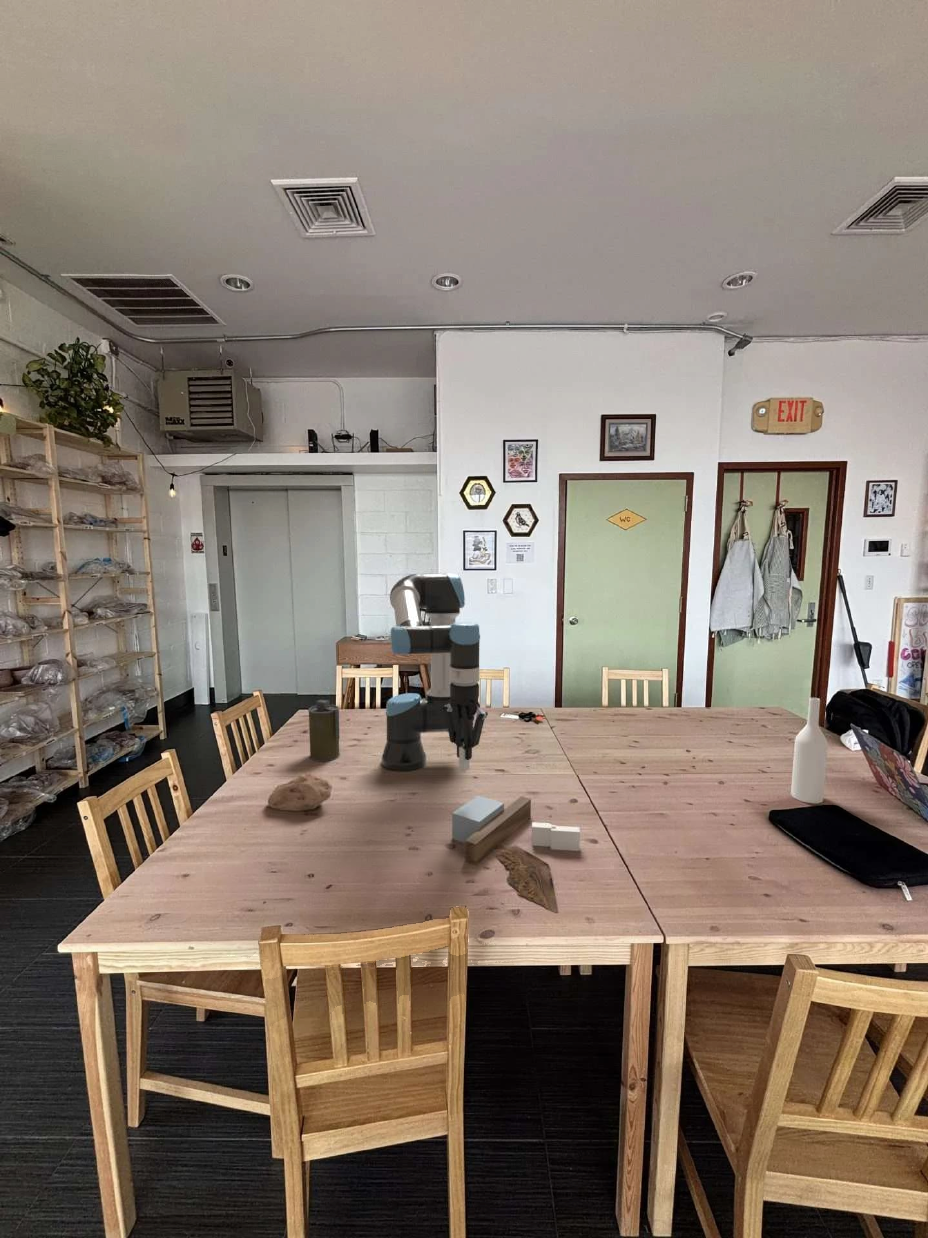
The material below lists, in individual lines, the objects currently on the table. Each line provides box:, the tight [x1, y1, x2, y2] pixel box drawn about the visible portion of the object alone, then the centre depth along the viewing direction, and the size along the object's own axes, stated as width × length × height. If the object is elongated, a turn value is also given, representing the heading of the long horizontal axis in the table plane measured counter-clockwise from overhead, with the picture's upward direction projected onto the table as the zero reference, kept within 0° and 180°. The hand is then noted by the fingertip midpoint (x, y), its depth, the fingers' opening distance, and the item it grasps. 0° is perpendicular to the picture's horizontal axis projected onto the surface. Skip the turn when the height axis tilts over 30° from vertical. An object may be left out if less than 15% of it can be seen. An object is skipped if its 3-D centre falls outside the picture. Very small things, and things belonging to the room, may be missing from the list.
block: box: [451, 795, 505, 844], centre depth 139 cm, size 8×12×7 cm, turn 146°
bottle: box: [790, 697, 829, 805], centre depth 158 cm, size 8×8×30 cm
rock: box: [267, 772, 333, 812], centre depth 153 cm, size 18×10×10 cm, turn 92°
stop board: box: [464, 795, 532, 865], centre depth 137 cm, size 3×28×5 cm, turn 146°
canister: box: [307, 699, 341, 762], centre depth 191 cm, size 11×10×20 cm
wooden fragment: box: [495, 843, 559, 914], centre depth 121 cm, size 26×11×1 cm, turn 12°
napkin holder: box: [531, 821, 581, 852], centre depth 134 cm, size 15×11×6 cm
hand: (464, 770), depth 142 cm, fingers closed
